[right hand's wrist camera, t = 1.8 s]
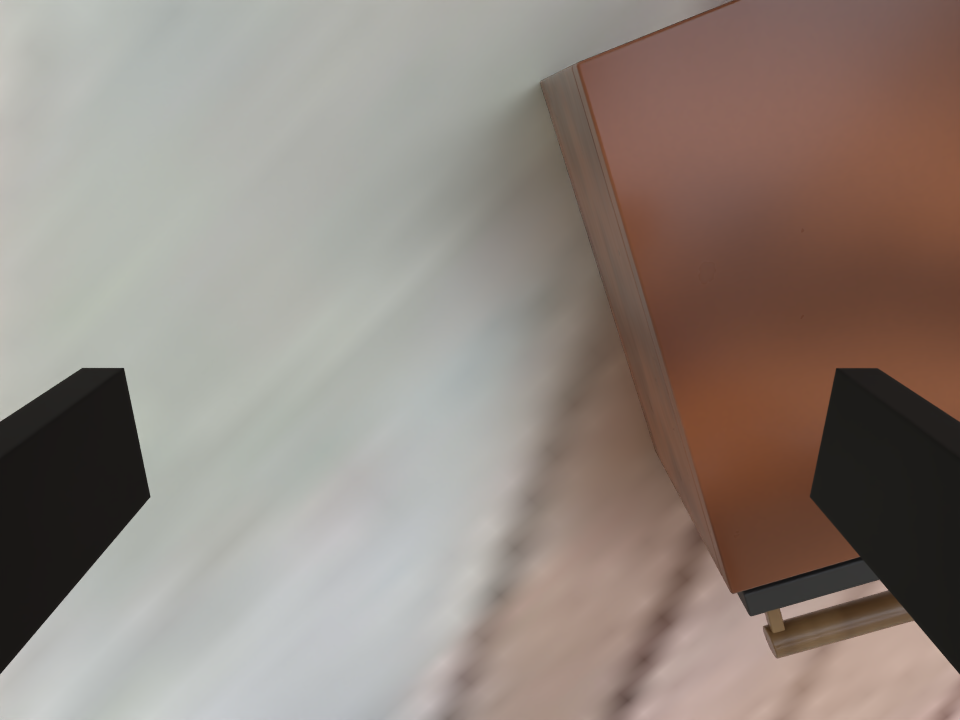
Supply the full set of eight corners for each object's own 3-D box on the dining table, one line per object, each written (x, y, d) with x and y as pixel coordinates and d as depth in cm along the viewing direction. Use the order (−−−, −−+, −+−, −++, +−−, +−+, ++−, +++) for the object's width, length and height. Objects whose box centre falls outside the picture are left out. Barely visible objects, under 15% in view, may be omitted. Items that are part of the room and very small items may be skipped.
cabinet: (850, 388, 35) (1018, 511, 24) (655, 451, 36) (731, 595, 25) (774, -13, 28) (958, -90, 17) (539, 81, 29) (575, 63, 19)
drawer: (873, 527, 37) (1001, 660, 28) (707, 576, 38) (779, 720, 29) (787, 77, 29) (927, 61, 20) (579, 156, 30) (624, 175, 21)
